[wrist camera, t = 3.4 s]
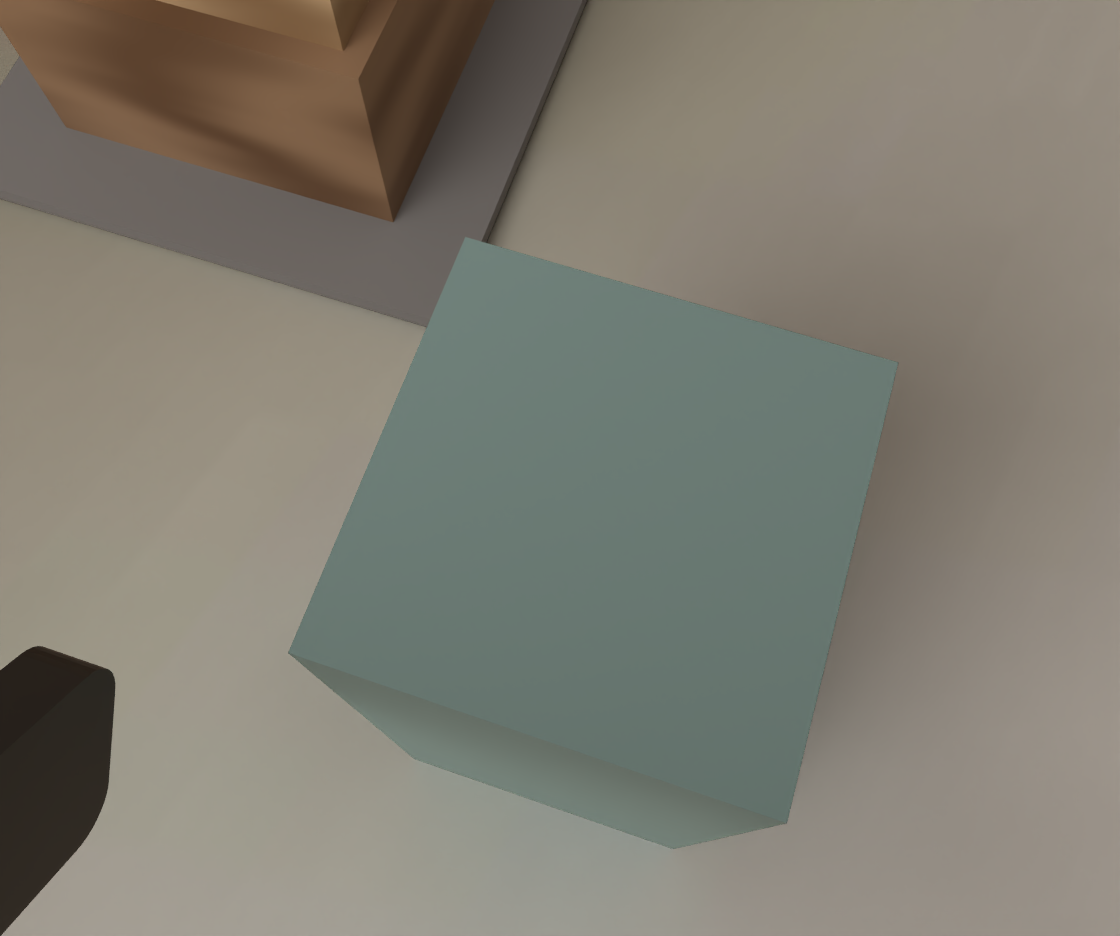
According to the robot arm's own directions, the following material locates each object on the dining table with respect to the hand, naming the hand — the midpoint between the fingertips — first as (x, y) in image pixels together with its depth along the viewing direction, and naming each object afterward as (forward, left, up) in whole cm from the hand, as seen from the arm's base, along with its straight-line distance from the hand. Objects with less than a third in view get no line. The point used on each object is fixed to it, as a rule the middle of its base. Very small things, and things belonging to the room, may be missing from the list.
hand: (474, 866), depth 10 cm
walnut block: (+11, -16, -9) cm, 21 cm away
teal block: (0, -4, -9) cm, 10 cm away
